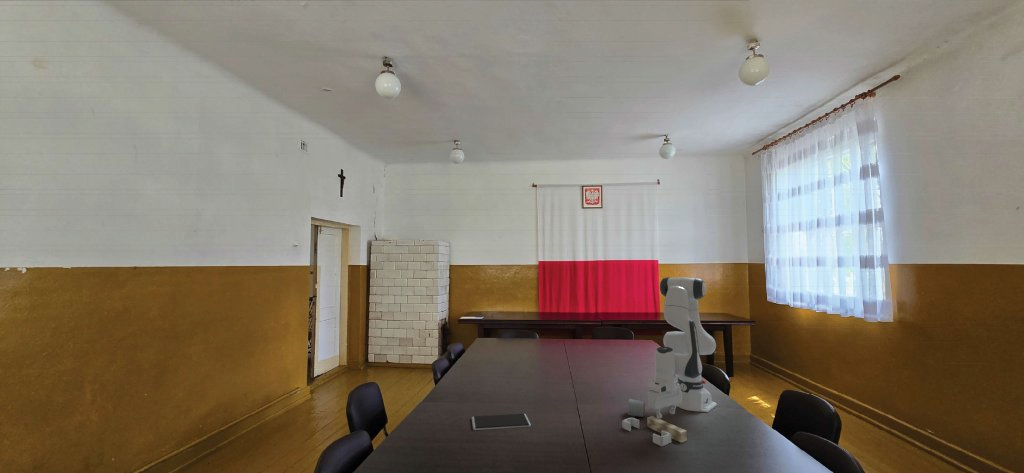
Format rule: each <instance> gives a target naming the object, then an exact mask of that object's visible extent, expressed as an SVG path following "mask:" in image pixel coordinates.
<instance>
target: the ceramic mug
mask: <svg viewBox="0 0 1024 473" xmlns="http://www.w3.org/2000/svg"><path fill="white" fill-rule="evenodd" d="M627 403H628V404H627V405H628V406H627V407H628V408H627V410H628V411H627V412H628V413H627V415H628V416H630V417H639V418H643V417H645V416H646V403H645V402H644V401H641V400H636V399H633V398H632V399H631V398H628V402H627Z"/></svg>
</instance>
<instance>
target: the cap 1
mask: <svg viewBox="0 0 1024 473" xmlns="http://www.w3.org/2000/svg"><path fill="white" fill-rule="evenodd" d="M621 423H622V429H623V430H626V431H629V432H632V427H634V428H637V429H640V419H637V418H635V417H634V416H630V417H628V418H625V419H622V420H621Z"/></svg>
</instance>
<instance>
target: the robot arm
mask: <svg viewBox="0 0 1024 473" xmlns="http://www.w3.org/2000/svg"><path fill="white" fill-rule="evenodd" d="M659 283H660V284H659V291H660V294H661V295H662V296H663V297H665V299H664V305H663V317H664V319H665V321H666V322H667V323H668V324H669V325H671V326H672V327H674V328H676V329H678V330H680V331H676V330H675V331H667V332H666V333H665V334H664V336H663V340H662V342H663V345H664V346H659V347H657V348H655V349H656V350H655V352H654V370H655V373H654V379H653V380H652V381H650V382H649V383H648V384H647V389H648V392H647V407H649V409H652V410H654V412H655V414H656V416H655V417H656V418H658V419H660V420H661V419H662V418H663V414H662V413H661V412H660V411H661V409H663V408H667V407H670V409H669V414H670V415H674V414H675V413H676V409H677V407H678V408H680V409H682V410H685V411H689V412H702V413H708V412H710V411H711V410H713V409H714V408H716V407H717V406H718V404H717V402H715V401H713V399H712V394H711V393H710V392H709V390H708V389H706V388H705V386H704V385H706V383H707V381H706V380H705V379H702V371H703V366H702V364H703V363H702V360H701V356H705V355H706V356H707V355H713V353H714V352H715V350H717V349H716V348H717V343H716V340H715V338H714V337H713V336H712V335H710V334H709V333H708V332H707V331H706V330H705V329H704V328H703V326H702V323H701V319H700V309H699V308H700V307H699V300H700V299H702V298H704V297H705V295H706V291H707V286H706V283H705V281H704V280H703V279H701V278H698V277H686V276H682V277H680V276H678V277H669V276H668V277H663V278H662V279H661V280H660V282H659ZM676 375H678V377H677V378H676ZM676 379H677V380H676Z"/></svg>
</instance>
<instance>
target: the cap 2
mask: <svg viewBox="0 0 1024 473" xmlns="http://www.w3.org/2000/svg"><path fill="white" fill-rule="evenodd" d="M660 434H661V435H659V434H656V433H652V442H653V443H654V444H656V445H658V446H660V447H664V446H667V445H669V444H671V443H672V439H673V438H671V434H670V433H668V432H666V431H663V430H662V431H661V433H660Z"/></svg>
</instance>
